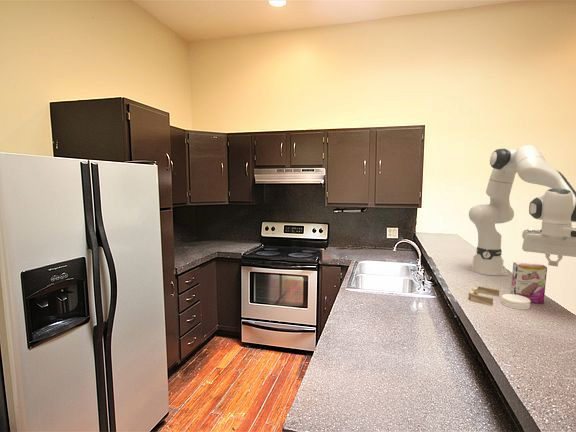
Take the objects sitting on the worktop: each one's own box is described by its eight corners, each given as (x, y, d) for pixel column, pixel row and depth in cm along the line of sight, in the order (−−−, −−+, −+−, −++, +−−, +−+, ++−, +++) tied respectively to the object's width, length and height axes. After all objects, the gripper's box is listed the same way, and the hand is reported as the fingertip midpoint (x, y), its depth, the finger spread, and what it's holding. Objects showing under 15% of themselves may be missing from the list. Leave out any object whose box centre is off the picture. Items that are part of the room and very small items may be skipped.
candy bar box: (513, 301, 138) (516, 264, 136) (509, 297, 143) (512, 261, 141) (544, 304, 134) (547, 266, 133) (539, 300, 139) (542, 264, 137)
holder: (476, 291, 150) (476, 285, 150) (499, 296, 144) (499, 290, 144) (467, 300, 139) (468, 293, 139) (492, 305, 133) (492, 299, 133)
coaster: (522, 302, 138) (523, 294, 137) (535, 311, 128) (535, 302, 128) (496, 300, 140) (497, 292, 139) (507, 309, 130) (508, 301, 130)
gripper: (521, 229, 128) (519, 262, 129) (591, 234, 114) (588, 271, 115) (523, 227, 132) (521, 260, 134) (591, 232, 119) (588, 268, 120)
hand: (553, 265), depth 124 cm, fingers closed
